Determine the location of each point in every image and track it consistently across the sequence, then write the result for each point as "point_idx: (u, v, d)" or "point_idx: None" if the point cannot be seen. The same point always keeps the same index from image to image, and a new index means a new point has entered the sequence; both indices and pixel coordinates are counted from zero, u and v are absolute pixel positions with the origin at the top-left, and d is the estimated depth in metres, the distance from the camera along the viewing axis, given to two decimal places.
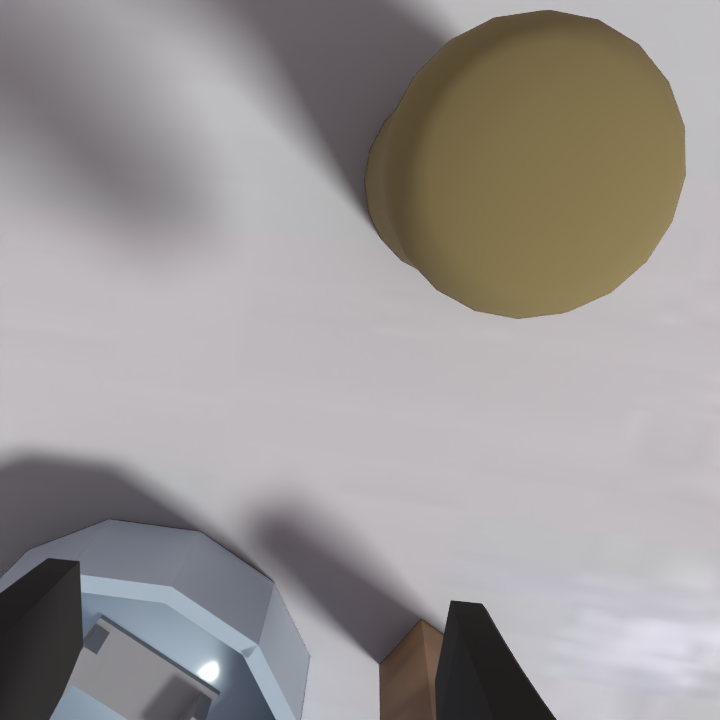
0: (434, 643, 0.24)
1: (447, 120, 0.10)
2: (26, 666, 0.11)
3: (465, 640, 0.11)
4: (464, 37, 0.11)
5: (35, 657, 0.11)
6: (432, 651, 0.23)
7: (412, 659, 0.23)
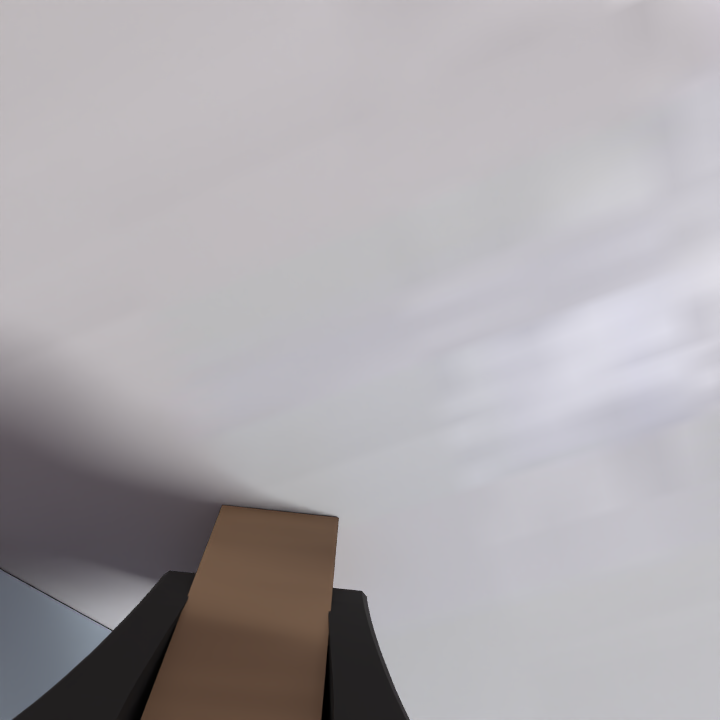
0: (236, 534, 0.14)
1: None
2: None
3: (330, 626, 0.11)
4: None
5: None
6: (223, 551, 0.13)
7: None
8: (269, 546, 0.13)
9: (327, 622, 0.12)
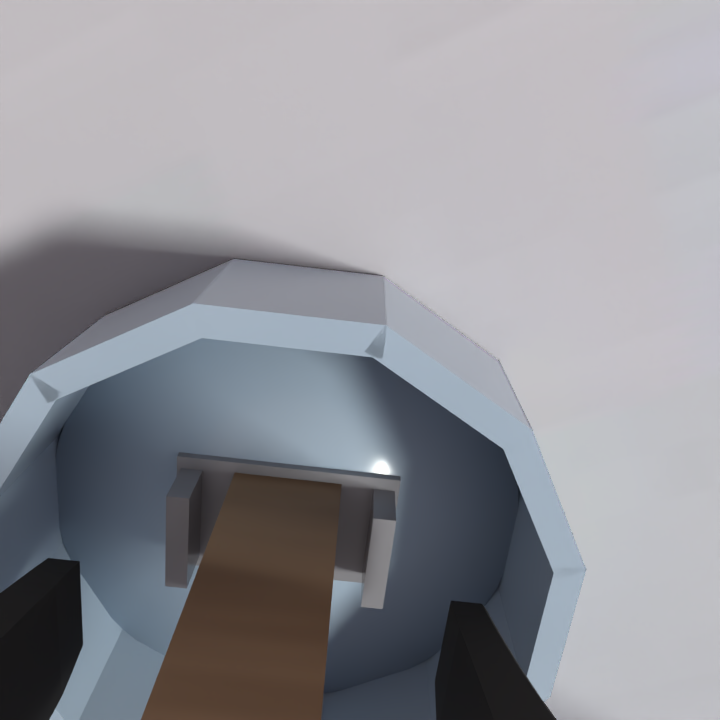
0: (248, 497, 0.15)
1: None
2: (26, 666, 0.11)
3: (465, 640, 0.11)
4: None
5: (35, 657, 0.11)
6: (236, 511, 0.14)
7: None
8: (278, 507, 0.15)
9: (332, 570, 0.13)
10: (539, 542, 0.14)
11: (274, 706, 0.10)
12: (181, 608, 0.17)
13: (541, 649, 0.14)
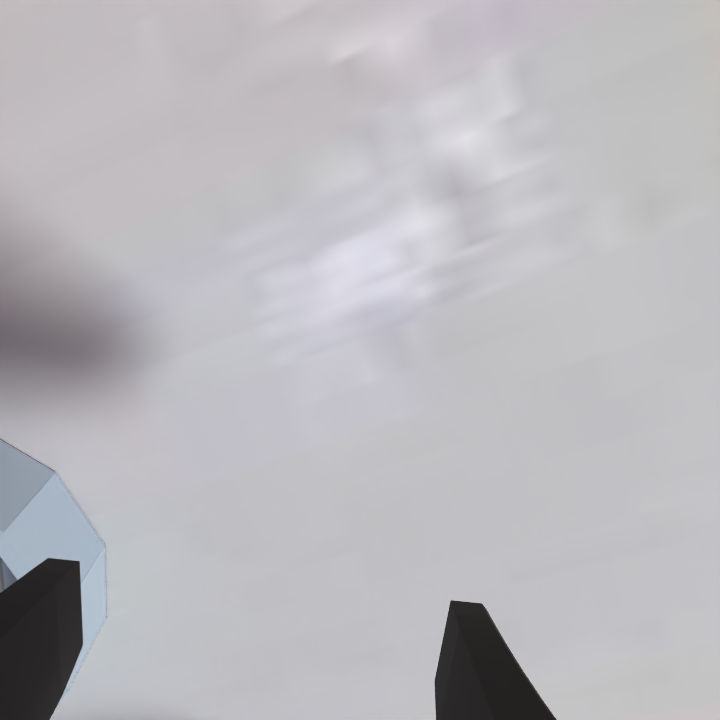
0: None
1: None
2: (26, 667, 0.11)
3: (465, 640, 0.11)
4: None
5: (35, 657, 0.11)
6: None
7: None
8: None
9: None
10: None
11: None
12: None
13: None
